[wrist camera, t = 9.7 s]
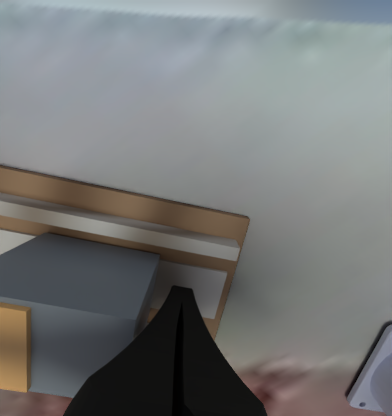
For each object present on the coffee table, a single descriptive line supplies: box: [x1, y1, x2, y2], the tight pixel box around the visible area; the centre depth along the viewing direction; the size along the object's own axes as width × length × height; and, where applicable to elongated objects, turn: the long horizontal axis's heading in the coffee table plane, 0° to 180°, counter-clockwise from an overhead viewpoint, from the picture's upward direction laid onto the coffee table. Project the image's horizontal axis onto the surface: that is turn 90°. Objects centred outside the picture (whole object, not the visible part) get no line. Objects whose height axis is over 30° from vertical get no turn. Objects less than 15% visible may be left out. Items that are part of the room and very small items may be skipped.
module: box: [0, 233, 160, 398], centre depth 10 cm, size 7×4×5 cm, turn 78°
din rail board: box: [0, 165, 250, 340], centre depth 11 cm, size 23×11×4 cm, turn 78°
